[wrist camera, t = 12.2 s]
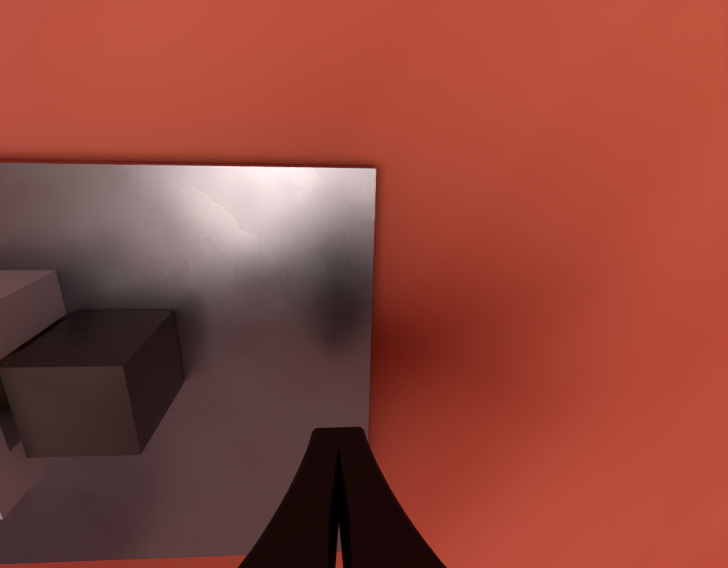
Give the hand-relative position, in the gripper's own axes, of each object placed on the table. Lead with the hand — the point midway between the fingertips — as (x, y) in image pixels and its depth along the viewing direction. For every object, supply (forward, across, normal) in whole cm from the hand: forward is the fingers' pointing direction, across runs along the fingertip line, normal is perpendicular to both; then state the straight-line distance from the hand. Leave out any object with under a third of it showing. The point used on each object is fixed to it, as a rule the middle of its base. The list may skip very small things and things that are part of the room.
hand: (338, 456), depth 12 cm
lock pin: (+4, +11, -1) cm, 12 cm away
